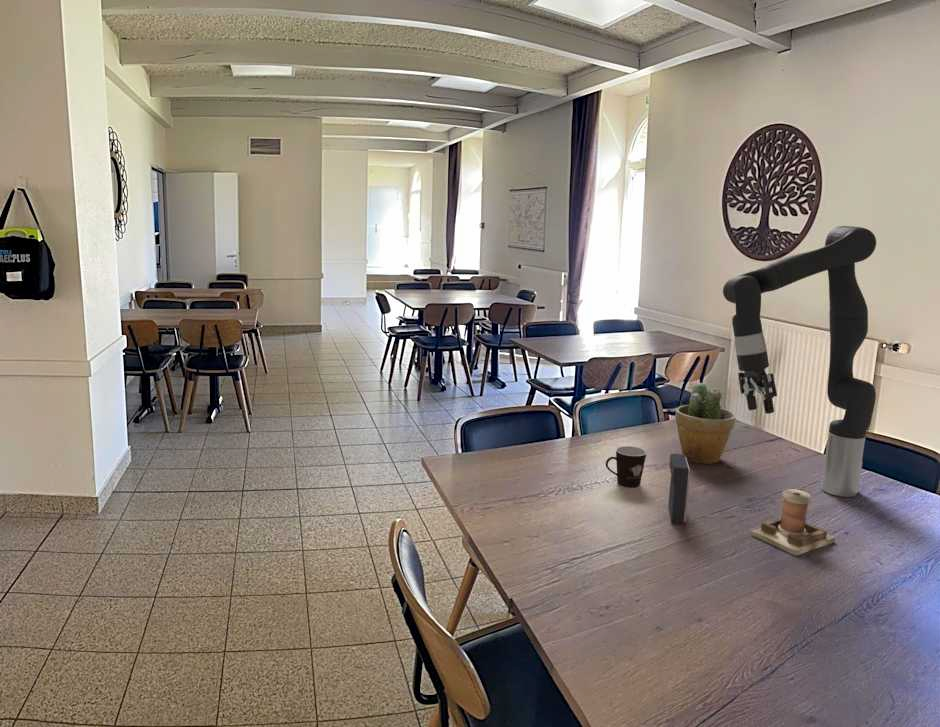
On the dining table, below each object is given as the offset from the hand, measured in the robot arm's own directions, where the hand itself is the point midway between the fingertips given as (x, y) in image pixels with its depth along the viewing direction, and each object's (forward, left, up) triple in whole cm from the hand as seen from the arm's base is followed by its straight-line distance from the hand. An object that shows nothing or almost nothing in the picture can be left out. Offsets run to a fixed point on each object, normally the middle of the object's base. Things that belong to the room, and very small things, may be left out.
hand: (761, 411), depth 184 cm
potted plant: (-17, -32, -26) cm, 44 cm away
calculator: (+24, -4, -26) cm, 36 cm away
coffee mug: (+21, -27, -26) cm, 43 cm away
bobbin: (+9, +18, -25) cm, 32 cm away
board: (+9, +19, -26) cm, 34 cm away
